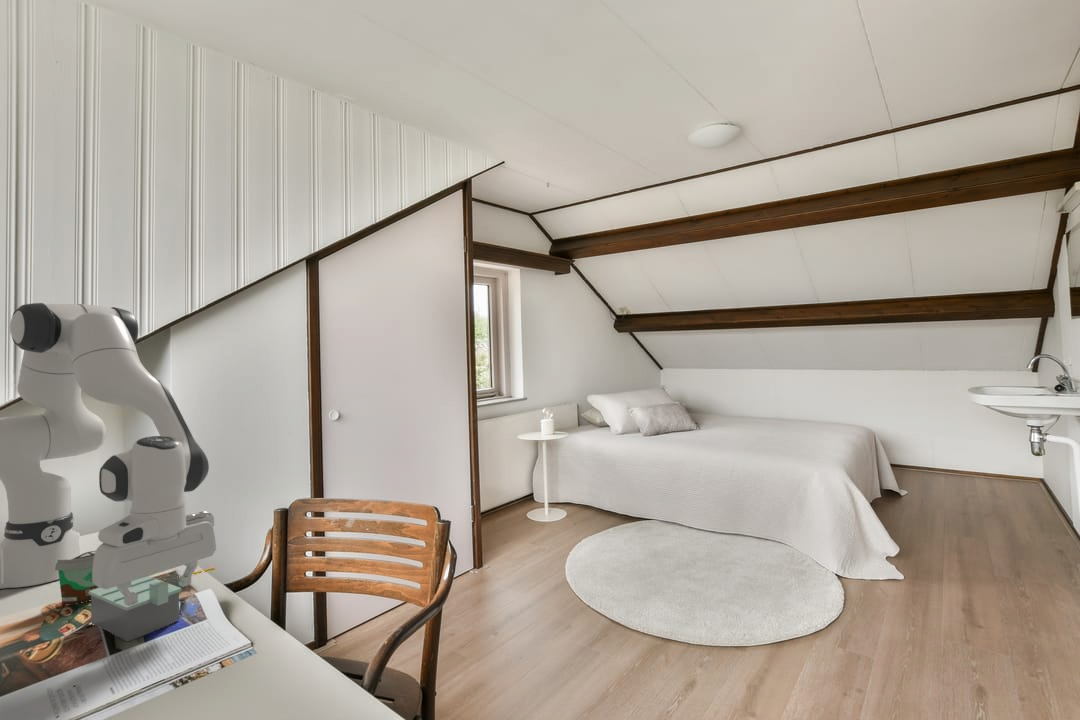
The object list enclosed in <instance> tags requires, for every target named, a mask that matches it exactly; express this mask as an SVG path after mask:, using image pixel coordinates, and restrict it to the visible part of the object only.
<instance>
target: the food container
mask: <svg viewBox="0 0 1080 720" xmlns="http://www.w3.org/2000/svg"><path fill="white" fill-rule="evenodd" d="M95 552H96V550H93V551H91V550H90V551H87V552H84V553H81V555H80V556H78V557H76V558H73V559H71V560H57V563H56V567H55V570H58V572H59V579H58V580H59V588H60V595H61V596H60V597H61V603H62V604H75V605H77V604H76V603H81V602H86V601H89V600H91V595H89V591H91V590H94V589H97V588H100V587H98V586H96V585H95V584H94V583H93V582H92V569H93V561H94V555H95Z"/></svg>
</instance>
